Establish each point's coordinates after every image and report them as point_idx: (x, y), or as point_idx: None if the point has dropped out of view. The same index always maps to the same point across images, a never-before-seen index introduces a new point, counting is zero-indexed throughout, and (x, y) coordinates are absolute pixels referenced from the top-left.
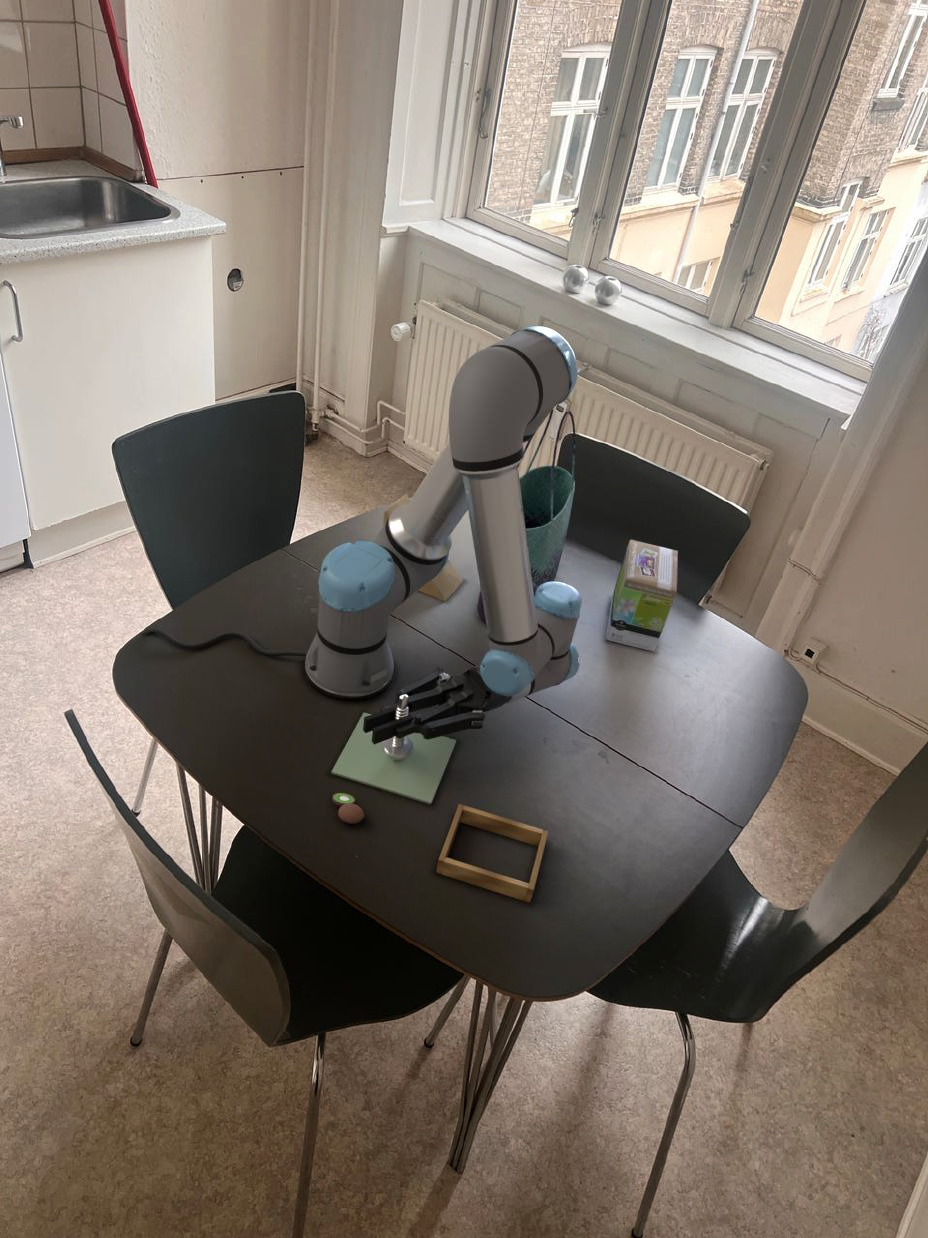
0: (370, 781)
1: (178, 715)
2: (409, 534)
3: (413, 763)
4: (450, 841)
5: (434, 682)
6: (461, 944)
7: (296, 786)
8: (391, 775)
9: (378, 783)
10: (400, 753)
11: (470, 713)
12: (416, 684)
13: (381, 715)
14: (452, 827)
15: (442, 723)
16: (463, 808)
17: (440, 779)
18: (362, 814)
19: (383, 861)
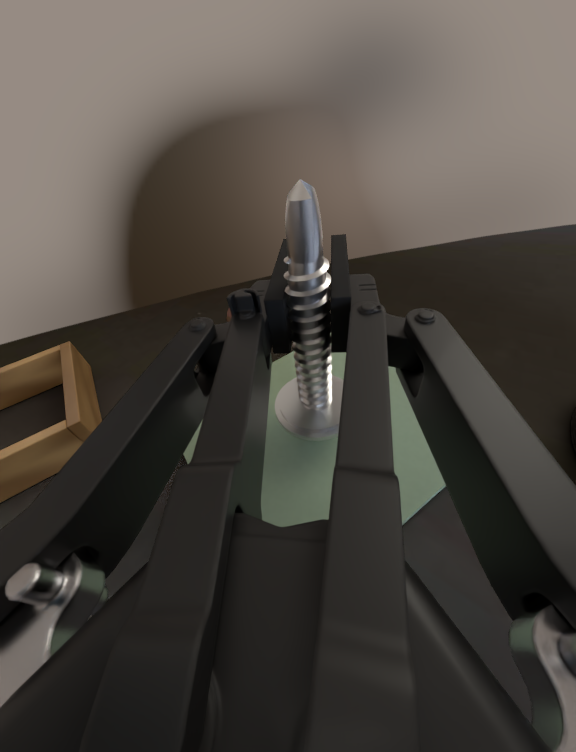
0: (286, 359)
1: (530, 244)
2: None
3: (273, 443)
4: (62, 366)
5: (516, 559)
6: (18, 348)
7: None
8: (275, 391)
9: (274, 367)
10: (286, 390)
11: (48, 533)
12: (471, 386)
13: (331, 257)
14: (69, 381)
15: (158, 362)
16: (64, 422)
17: None
18: (229, 315)
19: (166, 330)
